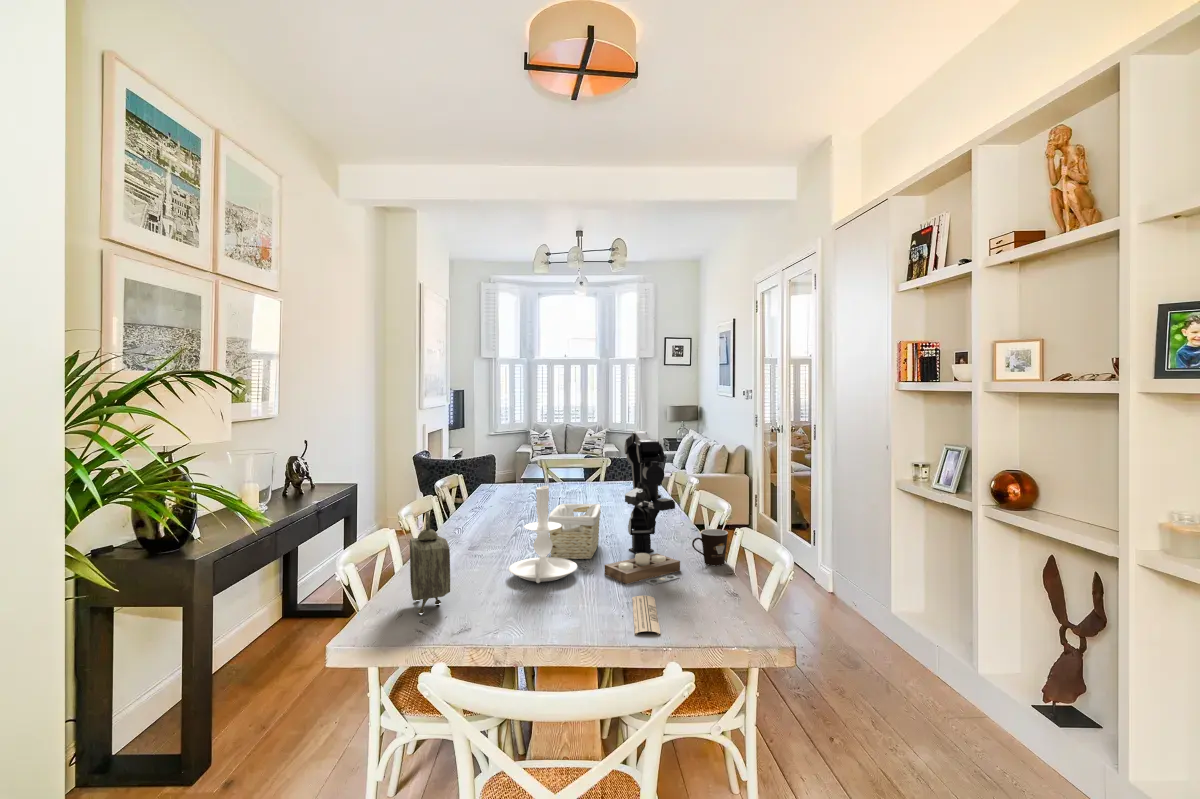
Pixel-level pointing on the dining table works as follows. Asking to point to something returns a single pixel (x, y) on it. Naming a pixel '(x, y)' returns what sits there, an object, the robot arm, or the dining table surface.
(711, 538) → the coffee mug
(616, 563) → the wooden compartment tray
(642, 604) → the newspaper
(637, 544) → the robot arm
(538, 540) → the candlestick
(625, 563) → the button
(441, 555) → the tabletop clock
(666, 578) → the card
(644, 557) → the button
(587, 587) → the dining table surface
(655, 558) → the button
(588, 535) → the storage basket
